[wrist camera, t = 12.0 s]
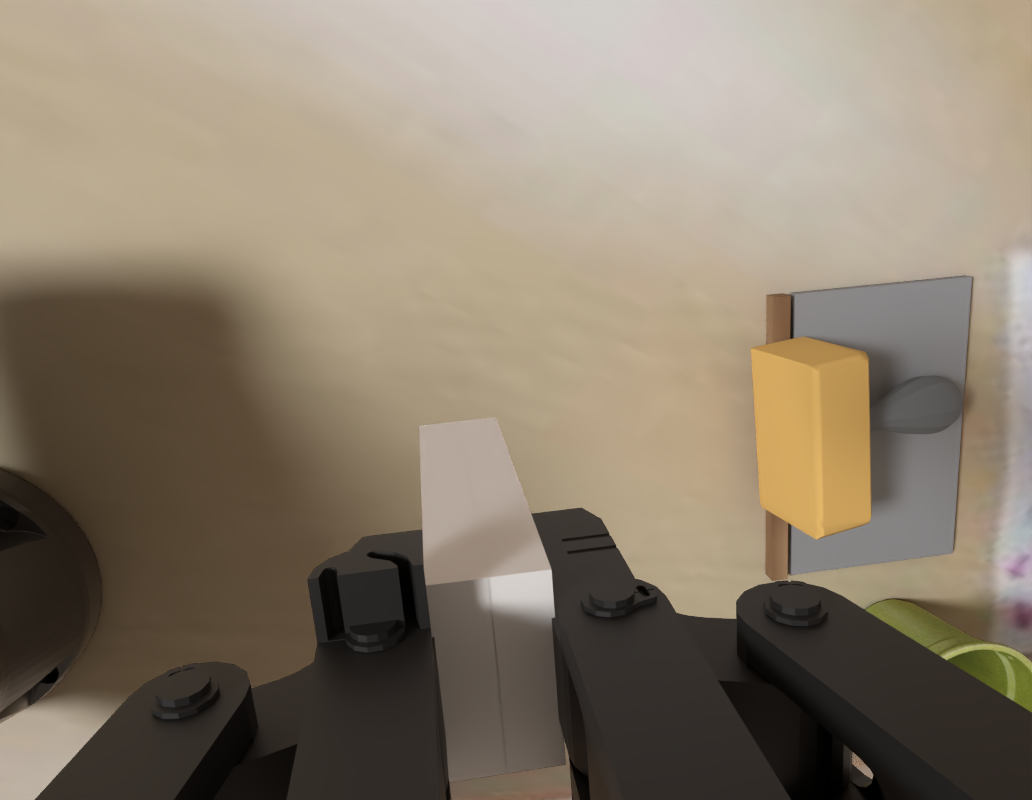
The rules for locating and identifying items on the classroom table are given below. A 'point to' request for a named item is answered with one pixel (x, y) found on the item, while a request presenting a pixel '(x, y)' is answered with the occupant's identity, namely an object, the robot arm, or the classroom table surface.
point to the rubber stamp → (831, 429)
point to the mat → (894, 456)
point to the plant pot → (962, 649)
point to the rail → (774, 525)
